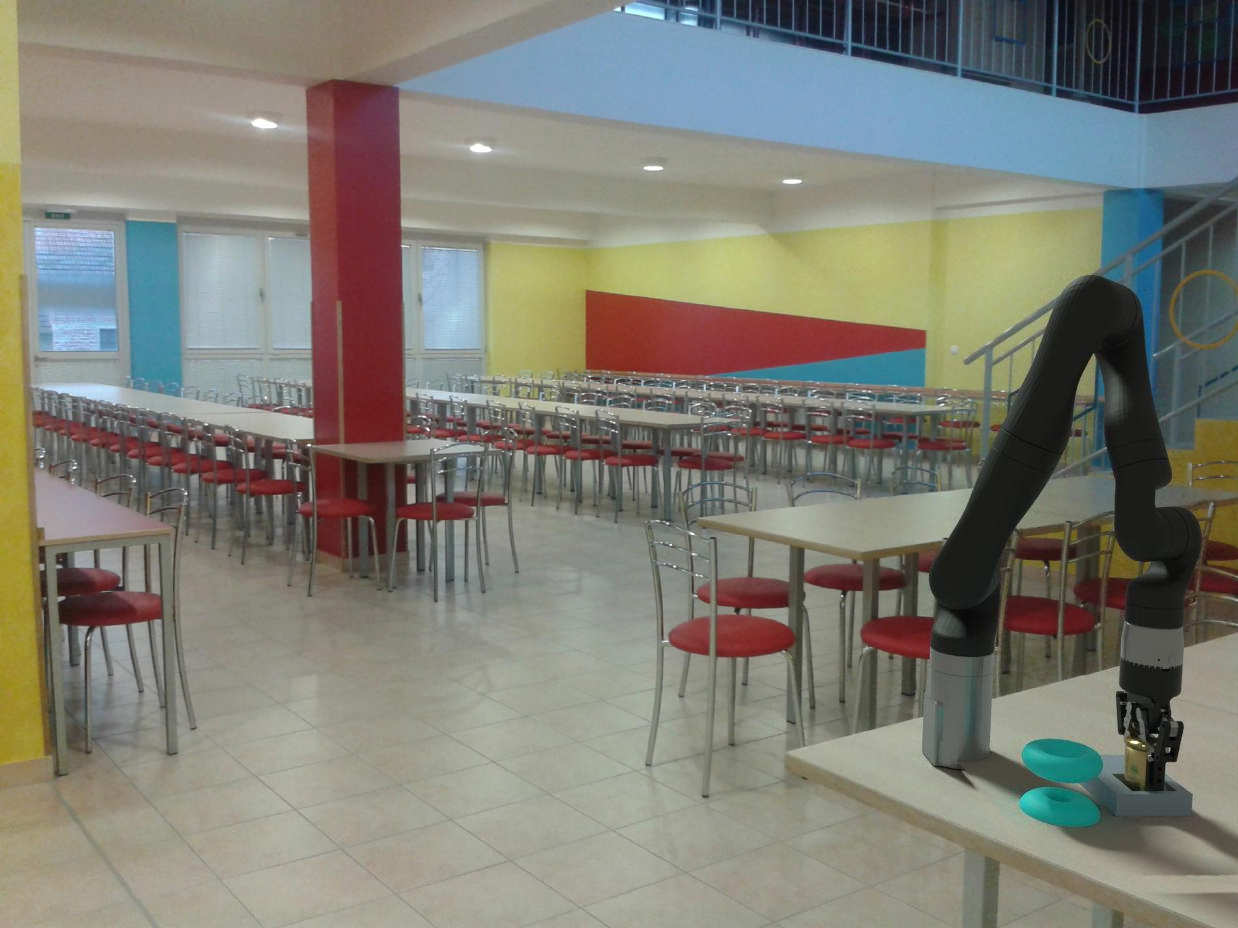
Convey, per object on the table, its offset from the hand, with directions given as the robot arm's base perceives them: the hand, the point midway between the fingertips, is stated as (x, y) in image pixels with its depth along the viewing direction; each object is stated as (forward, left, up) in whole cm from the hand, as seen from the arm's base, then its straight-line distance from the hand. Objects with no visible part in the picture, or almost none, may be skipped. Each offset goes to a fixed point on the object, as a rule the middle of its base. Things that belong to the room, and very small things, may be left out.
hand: (1144, 779), depth 148 cm
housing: (-1, +3, -5) cm, 6 cm away
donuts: (-12, -2, -5) cm, 13 cm away
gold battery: (0, 0, -3) cm, 3 cm away
